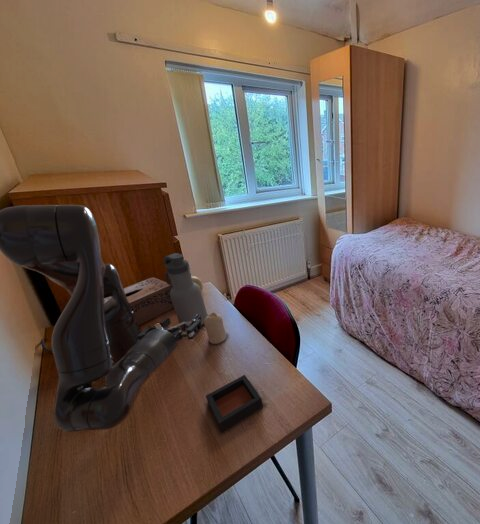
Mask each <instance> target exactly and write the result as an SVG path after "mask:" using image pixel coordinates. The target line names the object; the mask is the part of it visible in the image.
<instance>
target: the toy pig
mask: <svg viewBox="0 0 480 524" xmlns="http://www.w3.org/2000/svg"><path fill="white" fill-rule="evenodd" d="M191 276H192V279H193V283H196V284H198V285H199V286H200V289H201V293H202V294H203V287H204V286H203V281H202V280H201V279H200V278H199V277H198V276H195V275H191Z"/></svg>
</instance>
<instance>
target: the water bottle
mask: <svg viewBox="0 0 480 524" xmlns="http://www.w3.org/2000/svg"><path fill="white" fill-rule="evenodd" d="M163 264H164V267H165V270H166V272H165V273H164V275H163V276H164V279H165V282H167V284H168V285H172V287H173V288H172V289H171V291H170V297H171V300H172V303H173V306H174V308H173V309H174V312H175V315H176V318H177V320H178V324H180V323H182V322H185V323H186V322H188V321H190V320H191V319H192V318H193V317H194V316H195V315H196V314H199V315H200V316H201V324H202V326H203V325H204V326H205V324H204V319H205V318H206V317H207V316H208V315H209V314H208V310H207V308H206V303H205V301H204V297H203V292H202V293H201V289H200V286H199V285H198V284H196V283H193V279H192V276H193V275H192V272H191V267H190V263H189V260H187V259H184V255H183V254H181V253H178V252H174V253H172V254H169V255H168V254H167V255H165V256H164V257H163ZM169 279H170V280H169ZM190 326H191V324H189V325H188V328H189V327H190ZM181 329H183V326H182V327H181Z"/></svg>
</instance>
